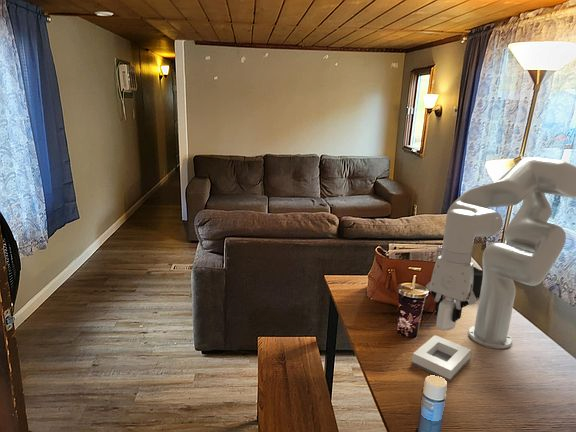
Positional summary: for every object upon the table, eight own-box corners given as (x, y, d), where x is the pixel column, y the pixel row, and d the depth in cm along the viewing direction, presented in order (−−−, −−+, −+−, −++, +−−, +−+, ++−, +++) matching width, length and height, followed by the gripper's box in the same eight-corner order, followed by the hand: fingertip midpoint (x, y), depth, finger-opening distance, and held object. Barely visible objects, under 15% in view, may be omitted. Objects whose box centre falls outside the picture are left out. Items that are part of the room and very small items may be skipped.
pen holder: (478, 289, 169) (481, 266, 167) (486, 299, 160) (490, 275, 158) (454, 287, 170) (457, 265, 168) (461, 298, 161) (465, 274, 159)
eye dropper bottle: (458, 331, 115) (464, 292, 112) (437, 330, 115) (443, 290, 112) (453, 323, 119) (459, 285, 116) (433, 322, 120) (438, 284, 116)
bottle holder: (433, 345, 129) (434, 334, 128) (469, 360, 122) (471, 349, 121) (411, 364, 119) (413, 353, 118) (449, 381, 112) (451, 370, 111)
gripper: (420, 250, 115) (413, 311, 119) (483, 267, 104) (472, 333, 108) (432, 244, 120) (425, 302, 125) (493, 260, 109) (482, 323, 114)
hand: (447, 316), depth 116 cm, fingers closed on eye dropper bottle, 4 cm apart
